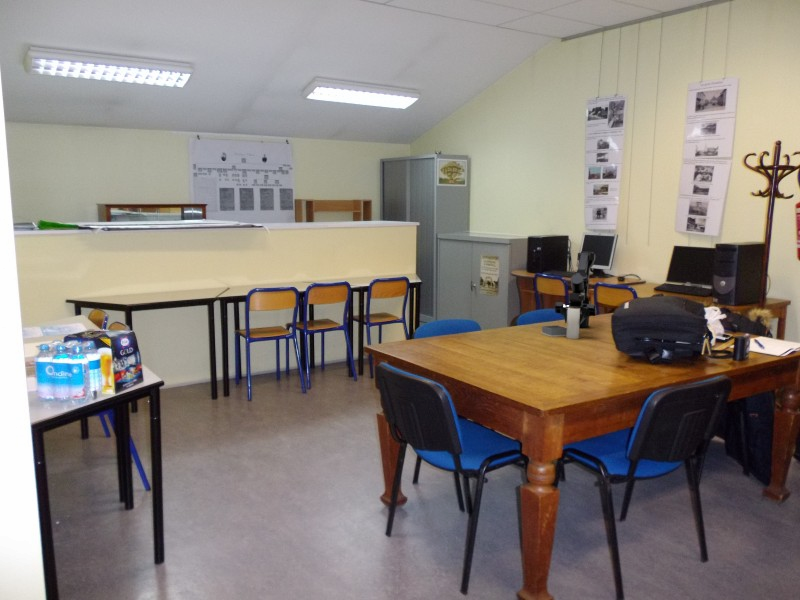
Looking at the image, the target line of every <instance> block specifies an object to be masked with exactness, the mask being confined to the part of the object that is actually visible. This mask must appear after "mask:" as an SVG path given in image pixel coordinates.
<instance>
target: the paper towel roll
mask: <svg viewBox="0 0 800 600" xmlns="http://www.w3.org/2000/svg"><path fill="white" fill-rule="evenodd" d="M579 322H580V308H574V307H570V308H568V310H567V323H566V328H567V335H566V336H565V338H567V339H569V340H579V336H580V328H579Z"/></svg>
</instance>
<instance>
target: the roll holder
mask: <svg viewBox="0 0 800 600" xmlns="http://www.w3.org/2000/svg"><path fill="white" fill-rule="evenodd" d="M541 328H542V329H541V332H540V333H541V334H542V335H545V336H548V337H550V338H551V337H553V338H554V337H556V338H557V337H566V335H567V327H564V326H562V325H561V326H560V325H558V324H557V325H556V324H555V325H542V327H541Z"/></svg>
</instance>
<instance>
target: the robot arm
mask: <svg viewBox="0 0 800 600" xmlns="http://www.w3.org/2000/svg"><path fill="white" fill-rule="evenodd" d="M577 261H578V266H577V270H576V271H575V272H574V273H573V275H572V276H570V282H569V283H570V285H571V290H572V291H571V292H570V293H569V297H568V304H569V305H566V304H565V303H564V302H560V301H559V302H555V303H554V306H553V307H554V312H555V314H557V315H558V314H559V315H561V316H563V318H564V323H565V324H567V313H568V308H570V307H574V308H580V322H579V329H586V328H587V327H590V328H591V326H590V325H589V324H590V317H596V315H597V306H596V304H592V303H591V301H590V299H589V296H588V293H589V284H590V272H591V268H592V267H594V263H595V262H596V254H595V253H594V251H580V252H578V253H577Z"/></svg>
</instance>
